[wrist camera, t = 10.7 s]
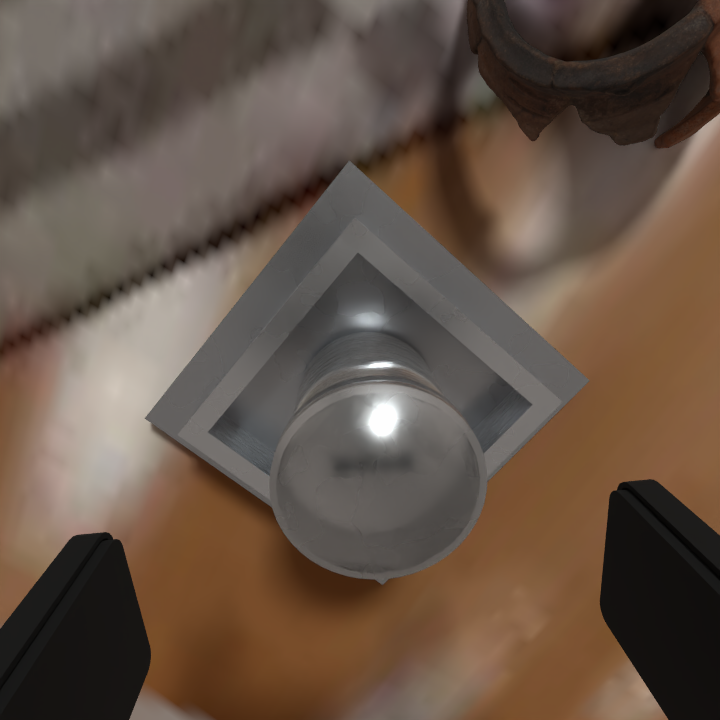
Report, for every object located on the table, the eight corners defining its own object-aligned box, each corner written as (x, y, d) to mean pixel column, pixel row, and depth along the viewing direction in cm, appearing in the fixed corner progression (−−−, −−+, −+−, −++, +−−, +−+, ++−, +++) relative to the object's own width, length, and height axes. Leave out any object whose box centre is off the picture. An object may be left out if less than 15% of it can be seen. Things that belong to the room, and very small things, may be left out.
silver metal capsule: (286, 333, 19) (254, 394, 13) (437, 321, 19) (486, 375, 13) (302, 470, 21) (283, 588, 14) (442, 457, 21) (487, 570, 14)
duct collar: (152, 411, 21) (123, 439, 18) (349, 163, 19) (350, 153, 16) (381, 573, 24) (386, 618, 21) (580, 374, 21) (615, 397, 18)
